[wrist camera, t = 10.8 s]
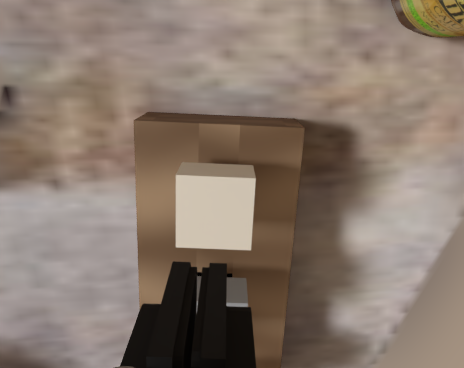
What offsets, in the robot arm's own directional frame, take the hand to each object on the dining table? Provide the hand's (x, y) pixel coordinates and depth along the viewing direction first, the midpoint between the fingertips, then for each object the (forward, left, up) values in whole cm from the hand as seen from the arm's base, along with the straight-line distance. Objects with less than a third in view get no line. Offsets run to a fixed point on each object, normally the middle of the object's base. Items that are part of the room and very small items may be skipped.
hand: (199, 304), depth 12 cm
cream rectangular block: (0, 0, -15) cm, 15 cm away
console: (+11, 0, -16) cm, 20 cm away
